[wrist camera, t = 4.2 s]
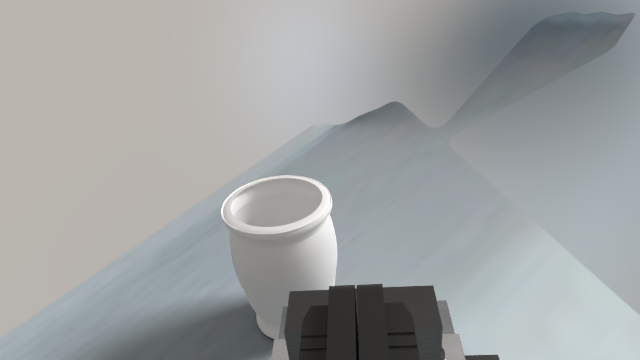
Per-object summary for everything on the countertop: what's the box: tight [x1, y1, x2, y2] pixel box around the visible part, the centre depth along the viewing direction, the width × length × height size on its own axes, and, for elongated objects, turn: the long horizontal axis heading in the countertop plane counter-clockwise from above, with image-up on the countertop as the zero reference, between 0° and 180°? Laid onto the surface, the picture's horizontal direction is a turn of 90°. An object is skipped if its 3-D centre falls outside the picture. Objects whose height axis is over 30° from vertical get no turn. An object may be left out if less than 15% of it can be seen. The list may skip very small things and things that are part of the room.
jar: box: [221, 175, 337, 339], centre depth 50 cm, size 11×10×15 cm
